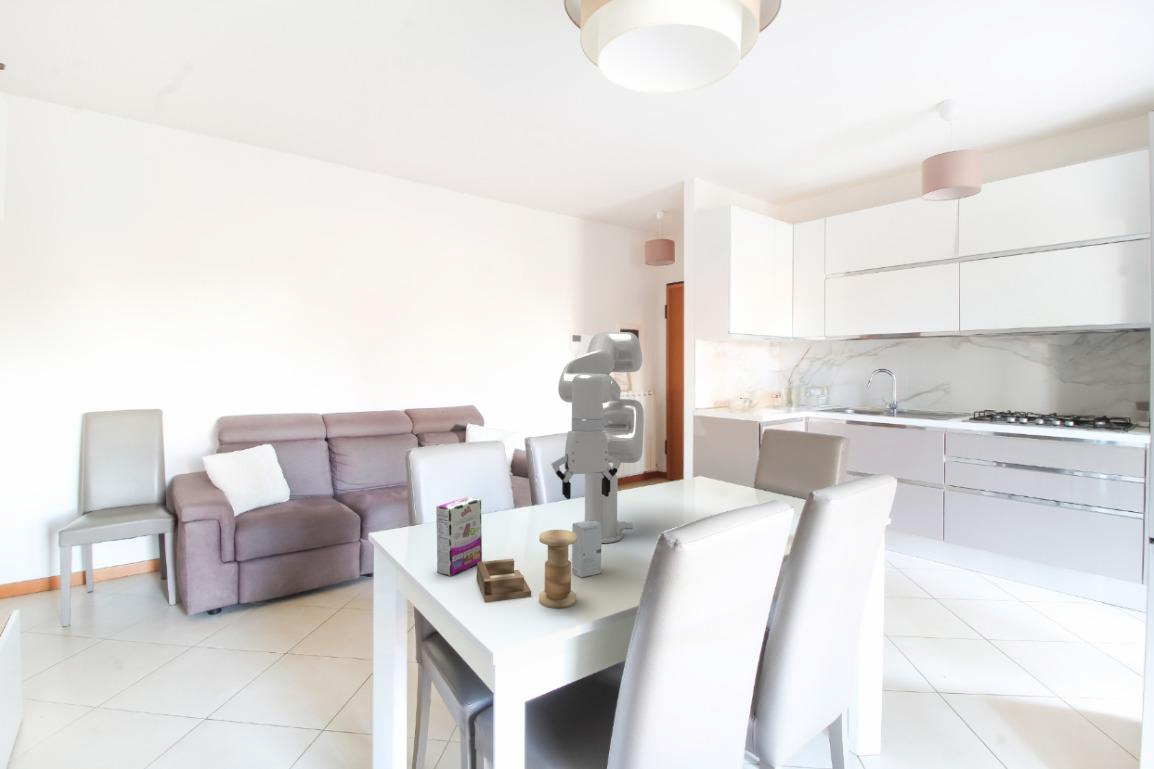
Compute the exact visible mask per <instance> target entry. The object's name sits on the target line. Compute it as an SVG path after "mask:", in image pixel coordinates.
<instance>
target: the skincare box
mask: <svg viewBox="0 0 1154 769" xmlns="http://www.w3.org/2000/svg"><path fill="white" fill-rule="evenodd" d="M572 532H574V533H576V534H577V541H576V542H575V543H574V544H571V553H572V554H571V573H573V574H574V575H575V576H577V577H579V578H584V577H590V576H594V575H598V574H601V573H602V543H601V523H598V522H596V521H593V520H590V521H585V520H584V521H578V522H572Z"/></svg>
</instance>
